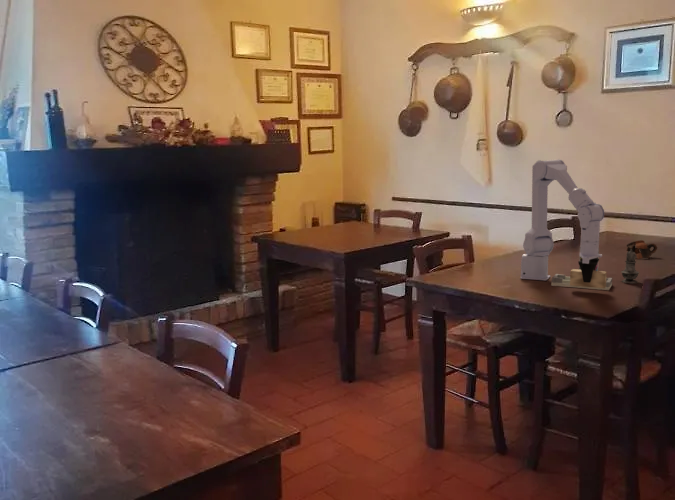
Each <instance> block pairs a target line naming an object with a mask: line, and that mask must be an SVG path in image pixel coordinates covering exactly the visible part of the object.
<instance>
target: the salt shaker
mask: <svg viewBox="0 0 675 500" xmlns="http://www.w3.org/2000/svg"><path fill="white" fill-rule="evenodd" d="M624 262H625V268H624V269H623V270H622V271H621V272H620V273H621V275H622V276H621V277H623V279H622V280H621V283H624V284H638V283H639V282H638V281H637V280H636V278H638V276H639V273H640V272H639V271H637V270H636V263H637V261H636V254H635V252H633V251H632V249H631V251H629V252H628V251H626V259H625V261H624Z"/></svg>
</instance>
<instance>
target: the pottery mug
mask: <svg viewBox="0 0 675 500" xmlns="http://www.w3.org/2000/svg"><path fill="white" fill-rule="evenodd" d="M651 248H653V249H652V250H651ZM631 249H632V251H633V252H635V257H636V259H637V260H641V259H650V258H651V256H652V255H653V254H655V253H656V252H657V250H658V245H657V244H656V243H654V242H651V243H646V242H645V240H642V239H641V240H635V241H631V242H629V243H627V244H626V252H629V251H631Z"/></svg>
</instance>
